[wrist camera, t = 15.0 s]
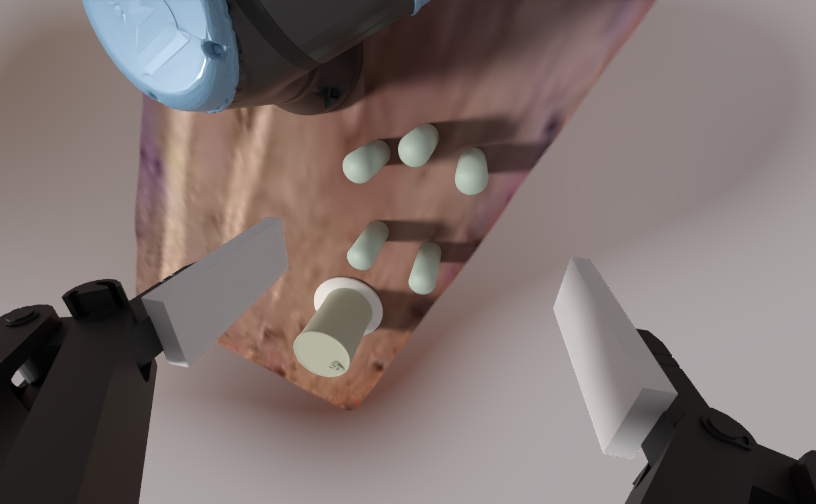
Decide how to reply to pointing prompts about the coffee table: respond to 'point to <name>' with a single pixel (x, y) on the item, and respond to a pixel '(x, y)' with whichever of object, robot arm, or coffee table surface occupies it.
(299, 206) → the coffee table surface
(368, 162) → the posts
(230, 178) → the coffee table surface
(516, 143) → the coffee table surface
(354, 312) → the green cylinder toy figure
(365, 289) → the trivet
